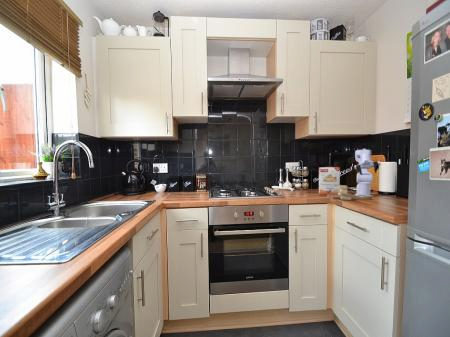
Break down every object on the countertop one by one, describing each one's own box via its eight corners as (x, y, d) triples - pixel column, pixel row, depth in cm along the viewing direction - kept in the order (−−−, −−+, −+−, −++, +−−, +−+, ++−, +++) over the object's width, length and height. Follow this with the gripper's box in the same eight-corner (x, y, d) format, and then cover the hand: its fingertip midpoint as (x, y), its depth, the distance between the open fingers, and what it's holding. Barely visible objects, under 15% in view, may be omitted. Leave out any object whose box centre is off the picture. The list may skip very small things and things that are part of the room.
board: (327, 196, 157) (327, 194, 157) (362, 196, 155) (362, 194, 155) (333, 199, 145) (333, 197, 145) (371, 199, 143) (372, 197, 143)
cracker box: (320, 194, 168) (320, 167, 168) (318, 193, 174) (318, 167, 173) (339, 194, 165) (340, 167, 164) (337, 193, 171) (338, 167, 170)
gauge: (335, 197, 152) (335, 185, 151) (344, 197, 151) (344, 185, 151) (341, 199, 142) (341, 186, 142) (351, 199, 142) (351, 186, 142)
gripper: (352, 158, 151) (353, 169, 142) (378, 153, 143) (380, 165, 133) (355, 166, 154) (356, 178, 144) (380, 162, 146) (382, 174, 136)
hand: (368, 172), depth 139 cm, fingers open, 7 cm apart
